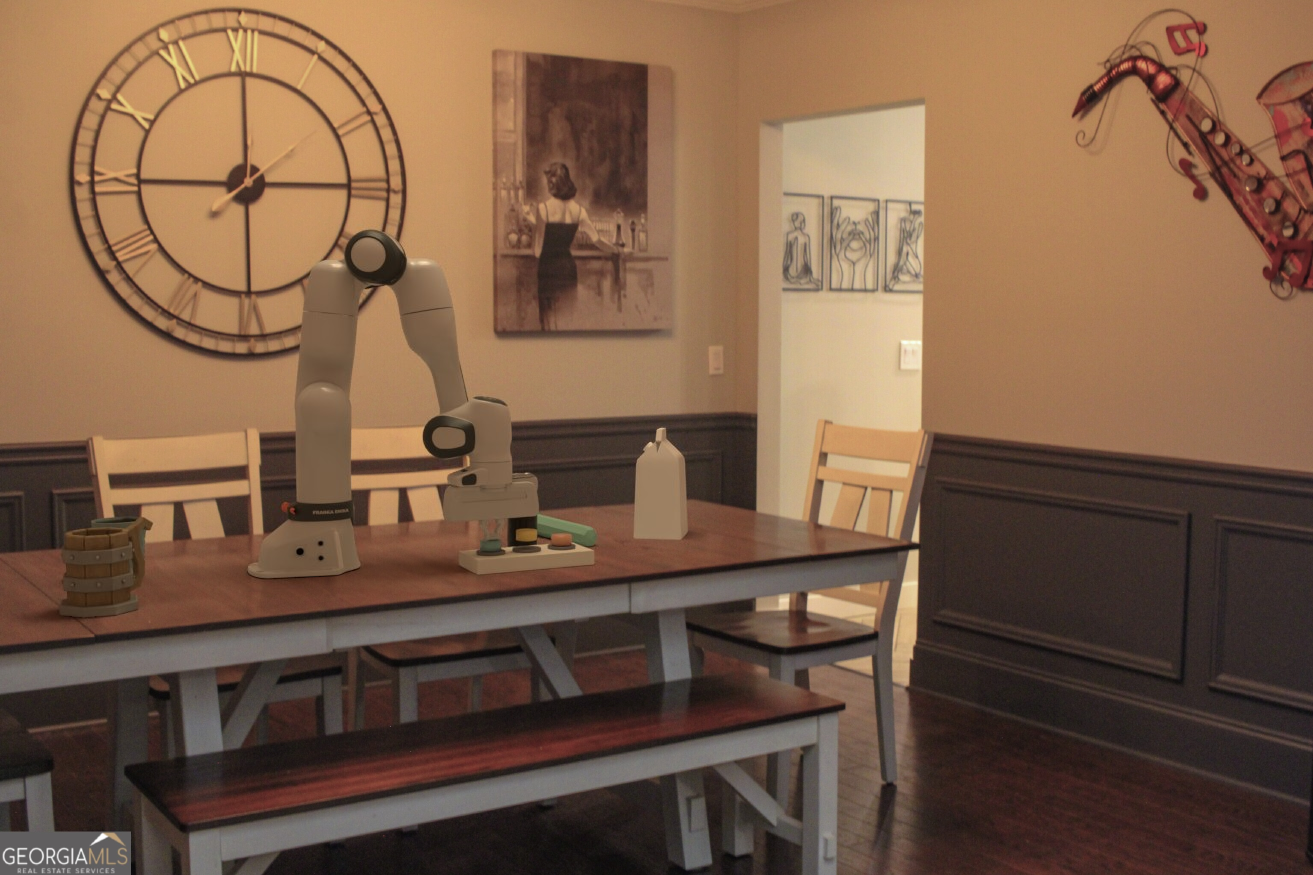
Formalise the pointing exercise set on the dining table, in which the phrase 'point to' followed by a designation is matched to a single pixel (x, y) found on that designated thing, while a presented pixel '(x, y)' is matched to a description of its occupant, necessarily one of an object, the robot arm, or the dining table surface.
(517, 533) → the mustard button
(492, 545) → the teal button
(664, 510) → the milk
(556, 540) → the terracotta button
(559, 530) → the container
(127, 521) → the drinking glass
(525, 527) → the supplement bottle
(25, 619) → the dining table surface
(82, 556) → the tankard
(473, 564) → the button panel
